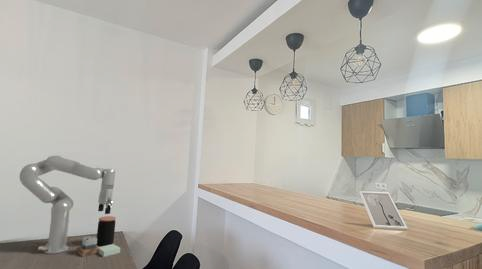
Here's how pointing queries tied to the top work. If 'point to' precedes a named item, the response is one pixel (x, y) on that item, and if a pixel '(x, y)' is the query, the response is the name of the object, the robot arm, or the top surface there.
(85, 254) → the stand
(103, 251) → the stand
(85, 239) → the housing
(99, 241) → the coffee jar
